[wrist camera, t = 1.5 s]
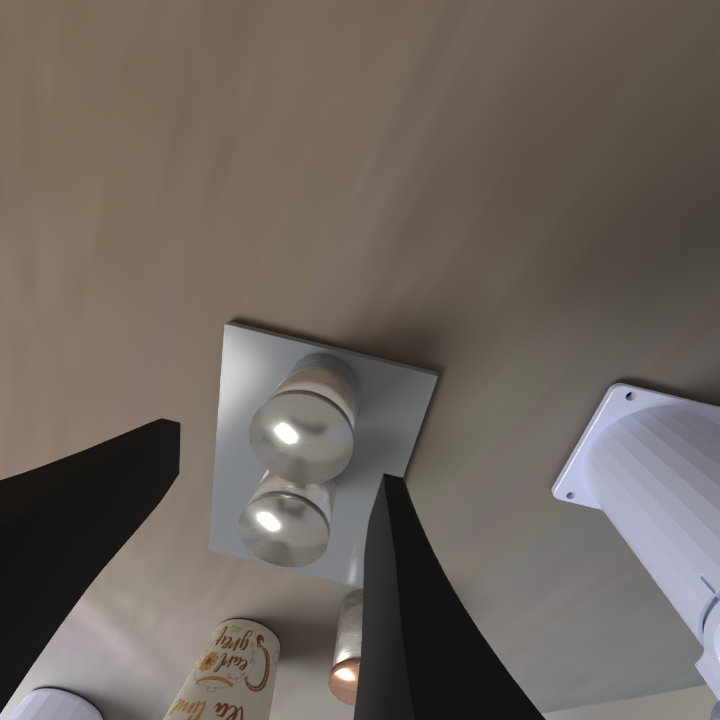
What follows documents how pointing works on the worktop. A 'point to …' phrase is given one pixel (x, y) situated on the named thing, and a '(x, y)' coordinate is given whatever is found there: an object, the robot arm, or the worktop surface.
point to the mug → (231, 675)
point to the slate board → (369, 456)
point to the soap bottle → (54, 707)
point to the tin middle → (288, 520)
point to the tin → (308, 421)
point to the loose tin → (347, 649)
